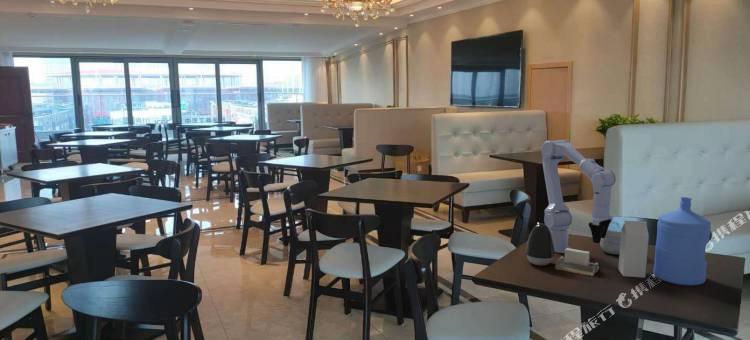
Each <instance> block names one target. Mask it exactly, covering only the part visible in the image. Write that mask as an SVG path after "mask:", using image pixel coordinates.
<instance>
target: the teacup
mask: <svg viewBox="0 0 750 340" xmlns="http://www.w3.org/2000/svg"><path fill="white" fill-rule="evenodd" d="M620 241H621V231H616V230H607V233H606V236H605V238H601V241H600V243H599V245H600V248H601V249H602V250H603V251H604V252H605V253H607V254H610V255H618V256H619V254H620Z"/></svg>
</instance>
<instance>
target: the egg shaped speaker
mask: <svg viewBox="0 0 750 340" xmlns="http://www.w3.org/2000/svg"><path fill="white" fill-rule="evenodd" d="M555 253H556V252H555V250H554V243H553V238H552V235H551V232H550V230H549V228H548V226H546V225H545V223H540V222H537V223H536V224H535V225H534V227H533V228H532V230H531V232H530V234H529V237H528V239H527V243H526V247H525V254H526V257H527V260H528V262H529V263H531V264H533V265H535V266H538V267H539V266H541V267H543V266H544V267H545V266H547V265H549V264H551V263H552V262H553V259H554V257H555V255H556V254H555Z"/></svg>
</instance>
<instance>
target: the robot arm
mask: <svg viewBox="0 0 750 340" xmlns="http://www.w3.org/2000/svg"><path fill="white" fill-rule="evenodd" d="M540 149H541V150H540V151H541V156H542V169H543V175H544V181H545V188H546V193H547V200H548V205H547V207H546V208H545V209H544V219H543V221H544V224H545V225H546V226H548V228H549V230H550V232H551V235H552V238H553V243H554V250H555V253H559V254H565V249H566V248H570V249H571V246H569V235H570V234H569V227H570V226H571V225H572V223H573V216H572V214H571V212H570V207H569V206H567V205H566V204H565V203H564V198H563V193H562V187H561V181H560V174H559V167H558V164H559V163H560V162H561V161H562V160H563V159H564V158H567V159H569V160H570V161H571V162H573V163H574V164H576V165H577V166H578V167H579V171H580V172H581V173H583V174H584V175H585V176H586V177H587V178H588V179H589V180H590V182H591V184H592V190H593V199H592V214H591V219H592V222H588V227H589V229H590V232H591V238H592V242H593V243H595V244H600V241H601V238H605V236H606V233H607V231H608V228H609V226H610V225H611V222H613V221H612V220H613V219H614V216H610V214H611V212H610V211H611V201H612V200H611V199H612V198H611V197H612V187H613V185H615V184H616V181H617V178H616V174H615V173H614V172H613V171H612V170H611V169H607V170H606V169H605V168H604V167H603V166H601V165H599V164H598V163H596V160H595V159H594V158H586V157H584V155H582V154H581V153H580V152H579V151H578V150H577V149H576V148H575V147H574V146H573V143H571V142H570V141H569V140H568V139H559V140H558V139H557V140H545V141H544V142H543V144H542V146H541V148H540Z"/></svg>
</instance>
